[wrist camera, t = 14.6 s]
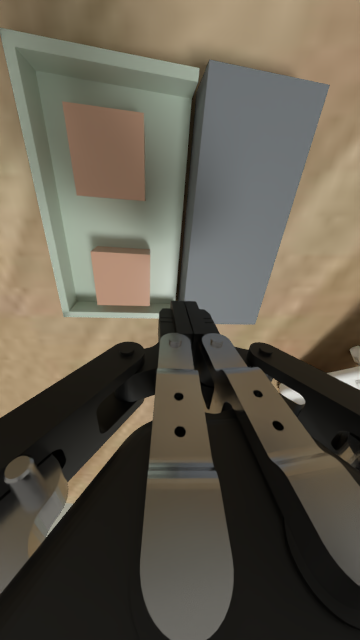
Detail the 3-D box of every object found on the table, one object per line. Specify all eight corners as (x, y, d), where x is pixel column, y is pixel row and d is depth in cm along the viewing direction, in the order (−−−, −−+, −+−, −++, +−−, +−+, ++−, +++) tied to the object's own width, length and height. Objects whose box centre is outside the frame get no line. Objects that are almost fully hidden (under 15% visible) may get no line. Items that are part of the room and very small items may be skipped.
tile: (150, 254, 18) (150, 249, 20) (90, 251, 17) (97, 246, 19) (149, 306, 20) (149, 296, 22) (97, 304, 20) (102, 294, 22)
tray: (27, 60, 14) (-2, 27, 11) (191, 91, 15) (199, 68, 13) (73, 303, 22) (63, 316, 20) (174, 306, 24) (176, 318, 21)
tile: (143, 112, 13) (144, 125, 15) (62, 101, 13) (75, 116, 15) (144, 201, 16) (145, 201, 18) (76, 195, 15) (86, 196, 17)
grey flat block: (196, 91, 15) (209, 59, 12) (292, 109, 16) (329, 84, 13) (177, 306, 24) (181, 323, 21) (240, 307, 25) (255, 324, 22)
